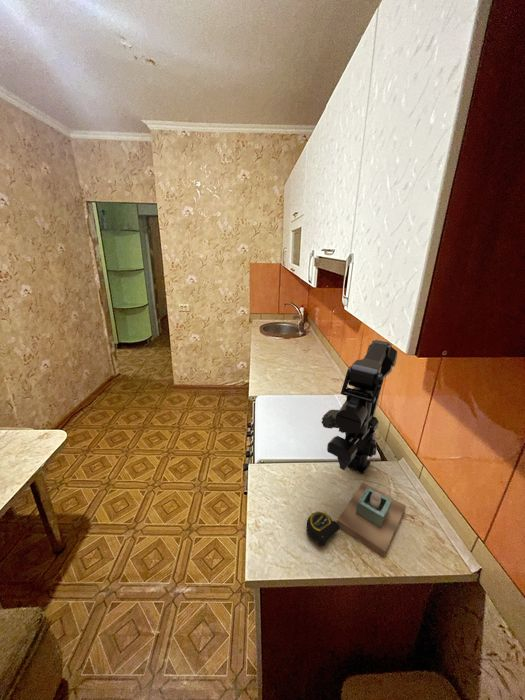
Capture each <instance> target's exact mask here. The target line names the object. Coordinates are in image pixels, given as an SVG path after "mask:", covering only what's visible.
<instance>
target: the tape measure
mask: <svg viewBox="0 0 525 700" xmlns="http://www.w3.org/2000/svg"><path fill="white" fill-rule="evenodd" d="M339 531H341V528H340V527H339V525H338V523H337V521H335V520H333V519H332V517H331V516H329V514H327V513H326V512H321V511H316V512H313V513H311V514H310V515H309V516H308V517H307V520H306V533H307V535H308V537H309V538H310V540H312V541H313V542H315V543H317V545H318V546H320V547H322V548H323V547H325V546H326V545H327V543H328V542H329V540H330V539H331V538H333V537H334V536H335V534H336V533H337V532H339Z"/></svg>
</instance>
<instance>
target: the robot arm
mask: <svg viewBox="0 0 525 700" xmlns="http://www.w3.org/2000/svg"><path fill="white" fill-rule="evenodd" d="M397 360H398V351H397V350H396V349H395V348H394V347H392V343H389V341H388V342H387V341H383V340H378V339H375V340H372V341H371V344H369V345H368V347H367V351H366V353H365V355H364V357H363V359H356V360H355V361H354V362H353V363H352V364H351V366H350V365H349V366H348V368H347V371H346V374H345V378H344V381H343V384H342V388H341V391H340V395H343V396H346V399H345V400H344V403H343V404H342V405H341V408H340V409H330V410H328V411H327V412H326V413H324V415H323V416H322V418H321V425H322V426H323V427H324V428H325V429H338V432H340V433H342V434H343V433H344V434H345V437H342V436H339V435H336V436H334V437H333V438H331V440H330V441H329V442H328V443H327V447H326V451H327V453H329V454H331V455H333V456H335V457H336V458H337V462H338V464H339V469H340V470H342V471H345V470H346V469H347V468H349V469H352V470H354V471H356V472H357V473H359V474H362V475H363V474H364V473H365V472H366V470H367V469H368V467H369V466H370V465H371V461H370V460H368V458H373V456H376V455H377V449H378V448H377V446H378V445H377V441H376V439H375V435H376V431H377V429H378V427H379V422H380V421H379V420H378V418H377V417H376V416H375V414H376V410H377V406H378V402H379V398H380V395H381V390H382V388H383V384H384V379H385V378H386V377H387V376H388V375H389V374H391V372H392V369H393V367H395V366H396V363H397ZM349 386H350V387H349Z"/></svg>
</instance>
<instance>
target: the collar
mask: <svg viewBox="0 0 525 700" xmlns="http://www.w3.org/2000/svg"><path fill="white" fill-rule="evenodd" d="M373 492H376V491H374V490H373V489H371V488H369V487H367V489H366V490H365V492H364V493H363V495H362V497H361V498H360V500H359V501H358V504H357V510H356V514H357V515H359V516H361V517H362V518H364V519H365V520H367V521H369V522H370V523H372V524H374V525H375V526H377V527H379V528H380V529H381V527H382V525H383V523H384V521H385V519H386V517H387V515H388V513H389V510H390V506H391V502H392V500H391V499H389V498H387V497H385V496H384V495H382V494H380V493H379V494H380V495H381V502H380V506H379V509H380V510H381V512H380V511H378V510H376V509H375V508H373V507H371V506H369V505H368V504H367V502H368V503H370V498H371V494H372V493H373Z"/></svg>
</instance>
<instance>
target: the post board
mask: <svg viewBox="0 0 525 700" xmlns="http://www.w3.org/2000/svg"><path fill="white" fill-rule="evenodd" d="M367 487H369V488H371V489H373V490H374V491H376V492H373V493H372V494H371V498H370V503H368V502H367V504H368V505H369V506H371V507H373V508H375V509H376V510H378V511H380V512H381V510H380V509H379V506H380V502H381V495H380V494H382V495H384V496H385V497H387V498H389V499H391V500H392V502H391V506H390V510H389V513H388V515H387V517H386V519H385V521H384V523H383V525H382V527H381V529H380V528H379V527H377V526H375V525H374V524H372V523H370V522H369V521H367V520H365V519H364V518H362V517H361V516H359V515H357V514H356V510H357V504H358V501H359V500H360V498H361V497H362V495H363V493H364V492H365V490H366V489H367ZM379 493H380V494H379ZM406 509H407V505H406V504H404V503H403V502H400V501H398V500H397V499H394V498H393V497H391V496H389V495H387V494H386V493H384V492H382V491H380V490H378V489H376V488H374V487H372V486H371V485H369V484H367V483H365V482H363V481H362V482H361V484H360V485H359V487H358V489H357V490H356V491H355V493H354V495H353V496H352V497H351V499H350V501H349V502H348V503H347V505H346V506H345V507H344V509H343V510H342V511H341V514H340V516H339V517H338V518H337V520H336V522H337V523H338V525H339V527H340V530H343V531H344V532H345V533H346V534H348V535H349V536H351V537H353V538H354V539H356V540H357V541H359V542H361V543H362V544H363V545H365V546H366V547H368V548H369V549H371V550H373V551H374V552H375V553H377V554H378V555H380V556H381V557H382V558H384V557H385V555H386V553H387V550H388V549H389V546H390V545H391V542H392V540H393V537H394V535H395V534H396V531H397V529H398V527H399V524H400V523H401V520H402V517H403V515H404V514H405V511H406Z"/></svg>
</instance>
